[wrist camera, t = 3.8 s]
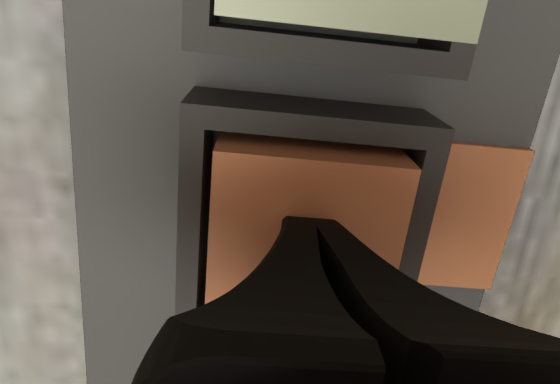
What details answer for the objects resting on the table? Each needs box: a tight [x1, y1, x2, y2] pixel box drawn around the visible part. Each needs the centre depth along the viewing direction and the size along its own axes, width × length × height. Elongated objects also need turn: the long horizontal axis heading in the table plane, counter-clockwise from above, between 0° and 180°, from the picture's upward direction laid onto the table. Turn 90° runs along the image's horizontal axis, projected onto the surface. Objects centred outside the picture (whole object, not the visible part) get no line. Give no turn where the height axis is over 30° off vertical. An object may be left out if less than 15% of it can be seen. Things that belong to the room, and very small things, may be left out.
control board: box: [62, 0, 560, 384], centre depth 15 cm, size 14×27×4 cm, turn 174°
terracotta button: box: [205, 131, 422, 304], centre depth 13 cm, size 5×5×3 cm
